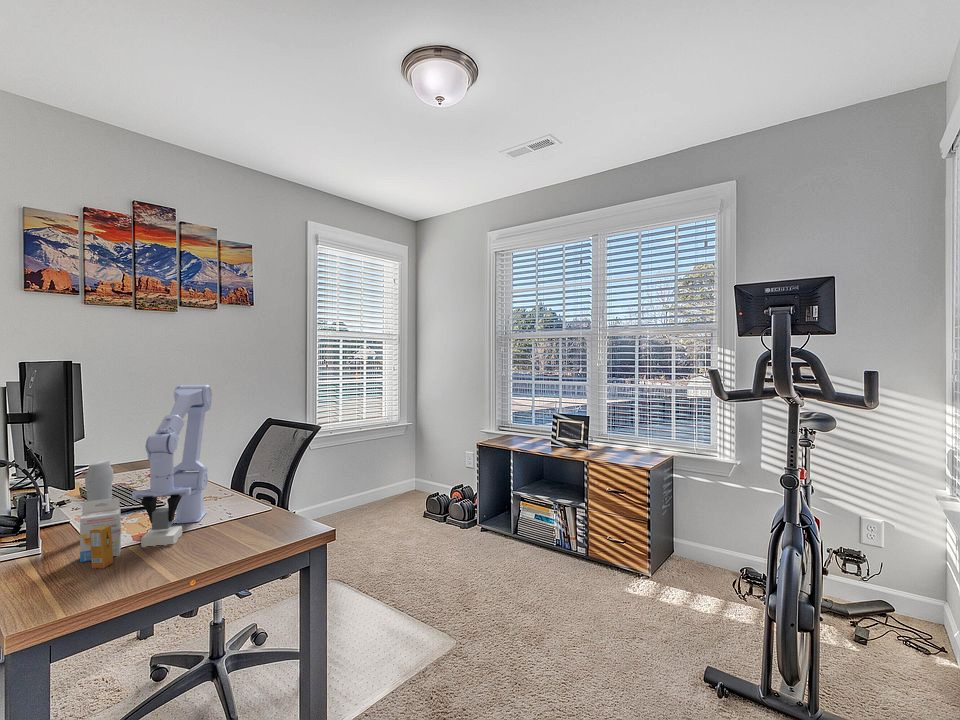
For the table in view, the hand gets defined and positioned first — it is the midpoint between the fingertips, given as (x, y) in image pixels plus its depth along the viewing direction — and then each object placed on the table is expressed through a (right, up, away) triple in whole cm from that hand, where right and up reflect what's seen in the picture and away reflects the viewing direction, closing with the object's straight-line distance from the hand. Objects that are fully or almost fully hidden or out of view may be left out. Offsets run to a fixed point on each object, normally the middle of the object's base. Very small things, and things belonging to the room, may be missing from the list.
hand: (162, 521), depth 143 cm
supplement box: (-5, -6, -17) cm, 18 cm away
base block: (0, -6, 0) cm, 6 cm away
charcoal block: (0, -2, 0) cm, 2 cm away
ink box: (-9, -6, -11) cm, 16 cm away
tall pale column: (-22, -6, +5) cm, 24 cm away
